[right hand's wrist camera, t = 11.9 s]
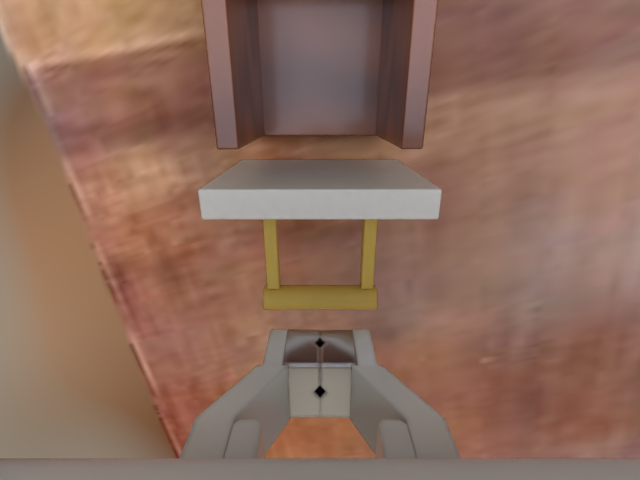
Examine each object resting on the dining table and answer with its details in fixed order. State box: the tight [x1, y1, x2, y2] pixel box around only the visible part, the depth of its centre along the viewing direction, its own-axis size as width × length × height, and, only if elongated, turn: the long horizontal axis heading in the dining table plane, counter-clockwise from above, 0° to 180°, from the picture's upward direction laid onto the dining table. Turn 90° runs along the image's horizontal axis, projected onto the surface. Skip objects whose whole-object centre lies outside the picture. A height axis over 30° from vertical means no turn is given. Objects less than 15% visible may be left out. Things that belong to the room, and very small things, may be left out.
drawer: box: [198, 0, 442, 310], centre depth 15 cm, size 22×9×8 cm, turn 0°
